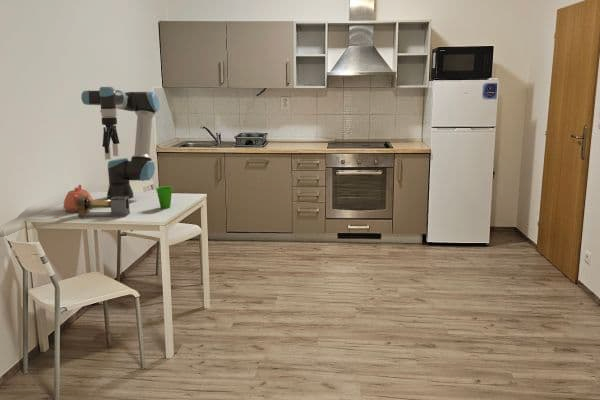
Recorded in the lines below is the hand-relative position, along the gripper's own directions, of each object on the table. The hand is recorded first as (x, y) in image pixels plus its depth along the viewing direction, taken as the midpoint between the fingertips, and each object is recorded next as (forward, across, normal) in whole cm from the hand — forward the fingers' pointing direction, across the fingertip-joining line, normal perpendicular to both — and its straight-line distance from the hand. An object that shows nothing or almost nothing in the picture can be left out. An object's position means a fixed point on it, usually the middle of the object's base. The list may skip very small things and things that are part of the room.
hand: (112, 157), depth 288 cm
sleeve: (+29, +10, +5) cm, 31 cm away
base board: (+29, +10, -3) cm, 31 cm away
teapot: (+29, -4, -21) cm, 36 cm away
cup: (+29, -6, +25) cm, 39 cm away
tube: (+25, +10, -6) cm, 28 cm away
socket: (+29, +10, -14) cm, 33 cm away
